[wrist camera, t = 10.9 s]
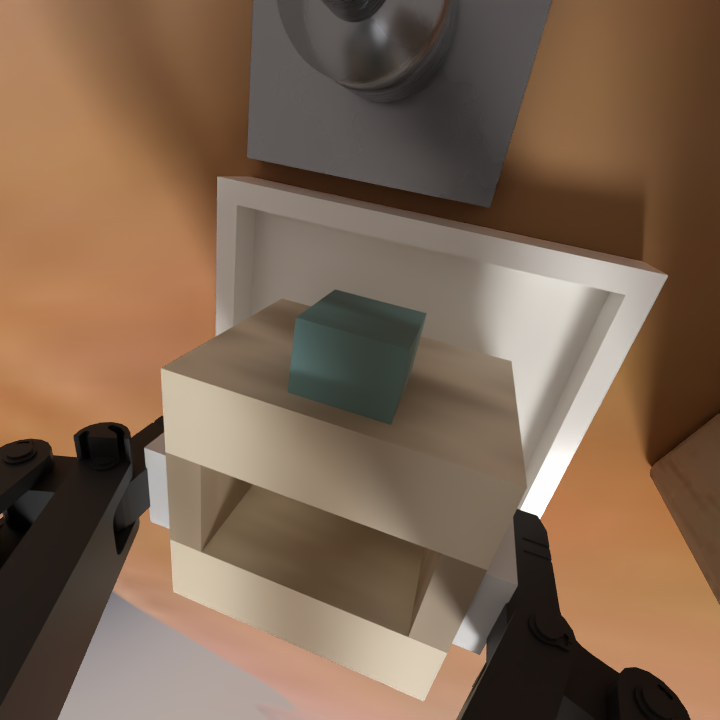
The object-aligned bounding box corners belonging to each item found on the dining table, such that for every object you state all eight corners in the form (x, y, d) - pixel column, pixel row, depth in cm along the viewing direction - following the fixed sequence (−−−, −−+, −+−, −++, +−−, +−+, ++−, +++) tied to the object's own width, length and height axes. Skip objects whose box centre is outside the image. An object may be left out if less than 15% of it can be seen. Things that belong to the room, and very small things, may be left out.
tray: (250, 176, 16) (217, 176, 14) (643, 261, 13) (668, 275, 12) (237, 458, 23) (214, 484, 21) (500, 552, 20) (501, 592, 18)
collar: (266, 470, 18) (173, 592, 13) (286, 247, 13) (156, 290, 8) (444, 534, 16) (423, 701, 11) (532, 307, 12) (565, 408, 7)
